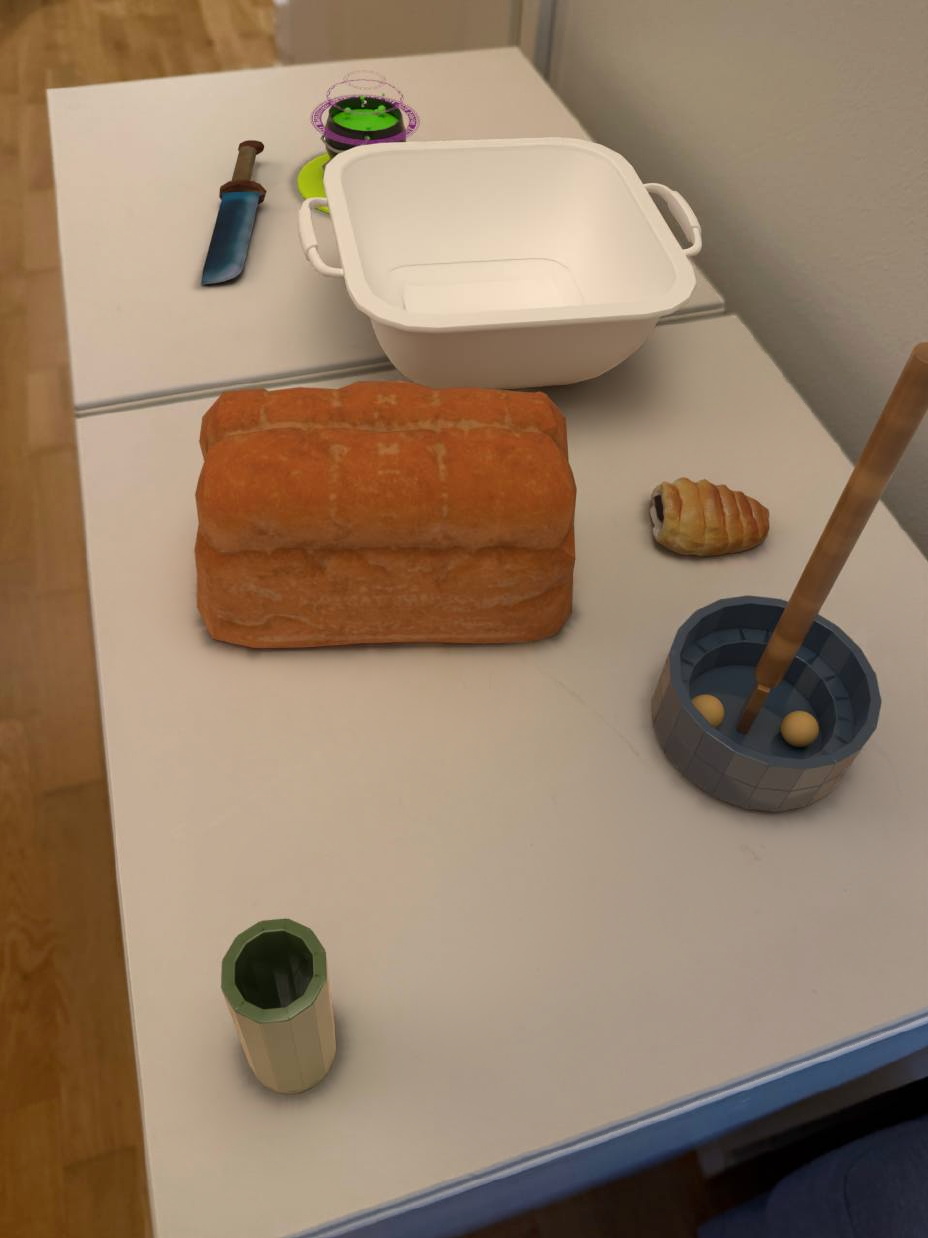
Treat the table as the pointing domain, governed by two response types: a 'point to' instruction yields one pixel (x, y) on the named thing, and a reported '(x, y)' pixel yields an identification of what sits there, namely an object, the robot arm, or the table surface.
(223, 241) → the knife
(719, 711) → the chickpea
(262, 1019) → the utensil pot
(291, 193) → the table surface
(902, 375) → the wooden dowel rod
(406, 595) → the bread
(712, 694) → the bowl
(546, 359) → the baking dish
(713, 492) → the pastry
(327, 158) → the toy cauldron
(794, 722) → the chickpea
